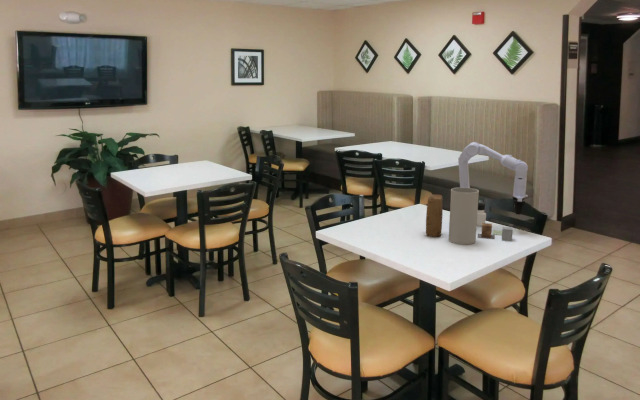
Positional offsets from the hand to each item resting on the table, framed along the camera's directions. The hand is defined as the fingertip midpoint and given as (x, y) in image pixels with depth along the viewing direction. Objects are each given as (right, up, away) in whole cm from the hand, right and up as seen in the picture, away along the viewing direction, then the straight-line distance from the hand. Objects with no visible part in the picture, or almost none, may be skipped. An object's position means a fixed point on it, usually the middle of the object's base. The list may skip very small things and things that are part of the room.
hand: (517, 212), depth 270 cm
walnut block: (-18, -12, -7) cm, 23 cm away
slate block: (-10, -13, -12) cm, 20 cm away
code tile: (-18, -12, -7) cm, 23 cm away
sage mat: (-9, -11, -2) cm, 14 cm away
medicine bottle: (-16, -7, +15) cm, 23 cm away
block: (-43, -11, -3) cm, 44 cm away
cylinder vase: (-32, -14, -14) cm, 38 cm away
